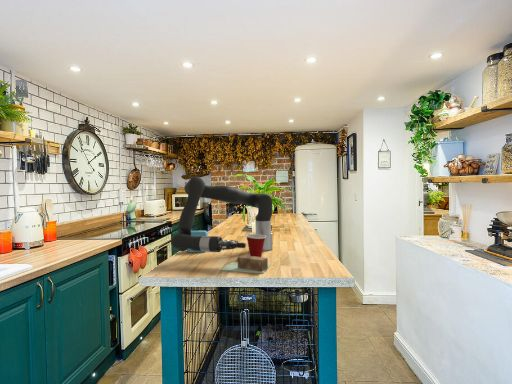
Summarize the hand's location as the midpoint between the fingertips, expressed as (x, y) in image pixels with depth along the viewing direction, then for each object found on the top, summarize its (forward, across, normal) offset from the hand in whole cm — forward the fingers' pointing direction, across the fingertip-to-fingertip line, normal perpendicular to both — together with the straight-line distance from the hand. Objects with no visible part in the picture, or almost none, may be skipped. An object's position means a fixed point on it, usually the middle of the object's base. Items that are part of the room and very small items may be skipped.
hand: (245, 245), depth 149 cm
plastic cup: (-1, +21, +11) cm, 23 cm away
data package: (-39, +28, +11) cm, 49 cm away
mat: (0, 0, +10) cm, 11 cm away
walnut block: (-2, -1, +7) cm, 8 cm away
